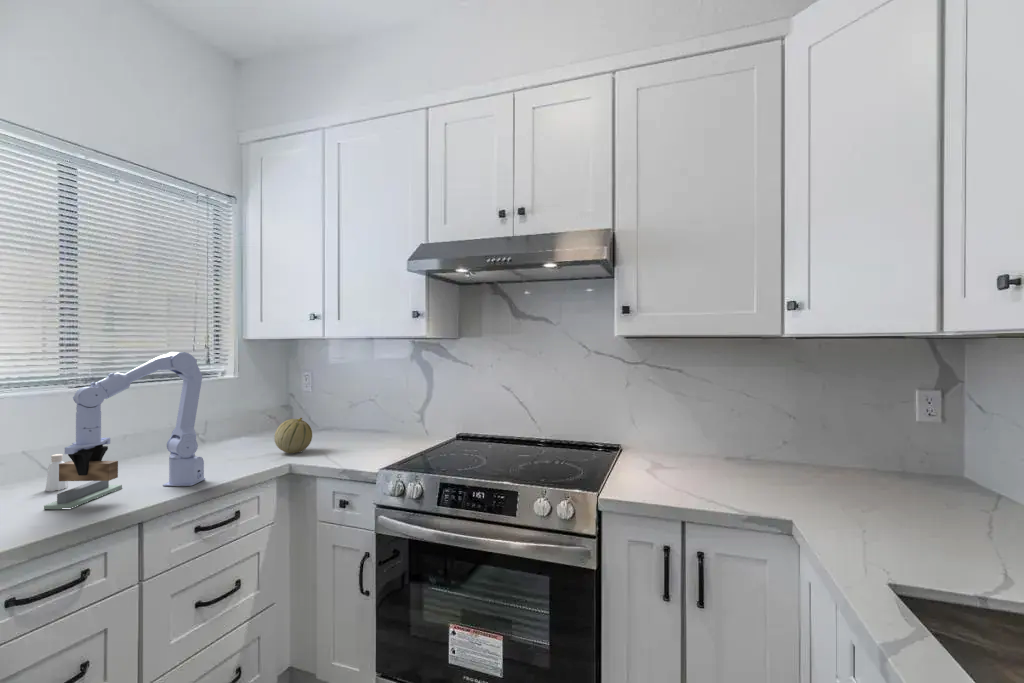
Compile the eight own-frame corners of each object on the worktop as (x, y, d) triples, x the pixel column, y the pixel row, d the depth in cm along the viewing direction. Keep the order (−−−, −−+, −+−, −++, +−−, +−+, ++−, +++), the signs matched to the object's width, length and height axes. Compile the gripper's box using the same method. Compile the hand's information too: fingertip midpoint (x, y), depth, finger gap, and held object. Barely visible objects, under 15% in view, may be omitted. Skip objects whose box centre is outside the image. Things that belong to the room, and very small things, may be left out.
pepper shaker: (46, 492, 155) (46, 457, 155) (44, 489, 158) (44, 454, 158) (69, 488, 159) (69, 454, 159) (66, 485, 162) (67, 452, 162)
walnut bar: (117, 477, 148) (118, 460, 148) (109, 480, 145) (109, 463, 145) (68, 477, 147) (68, 461, 147) (58, 481, 144) (58, 464, 144)
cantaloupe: (270, 452, 211) (270, 417, 211) (305, 447, 221) (305, 414, 221) (281, 458, 200) (281, 421, 200) (317, 453, 210) (317, 418, 210)
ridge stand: (121, 488, 159) (122, 476, 159) (69, 509, 139) (69, 495, 139) (99, 488, 159) (99, 476, 159) (43, 509, 139) (43, 495, 139)
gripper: (93, 423, 153) (93, 467, 153) (53, 431, 139) (52, 480, 139) (117, 423, 154) (117, 466, 154) (79, 431, 139) (79, 479, 139)
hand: (88, 473), depth 146 cm, fingers closed on walnut bar, 3 cm apart
